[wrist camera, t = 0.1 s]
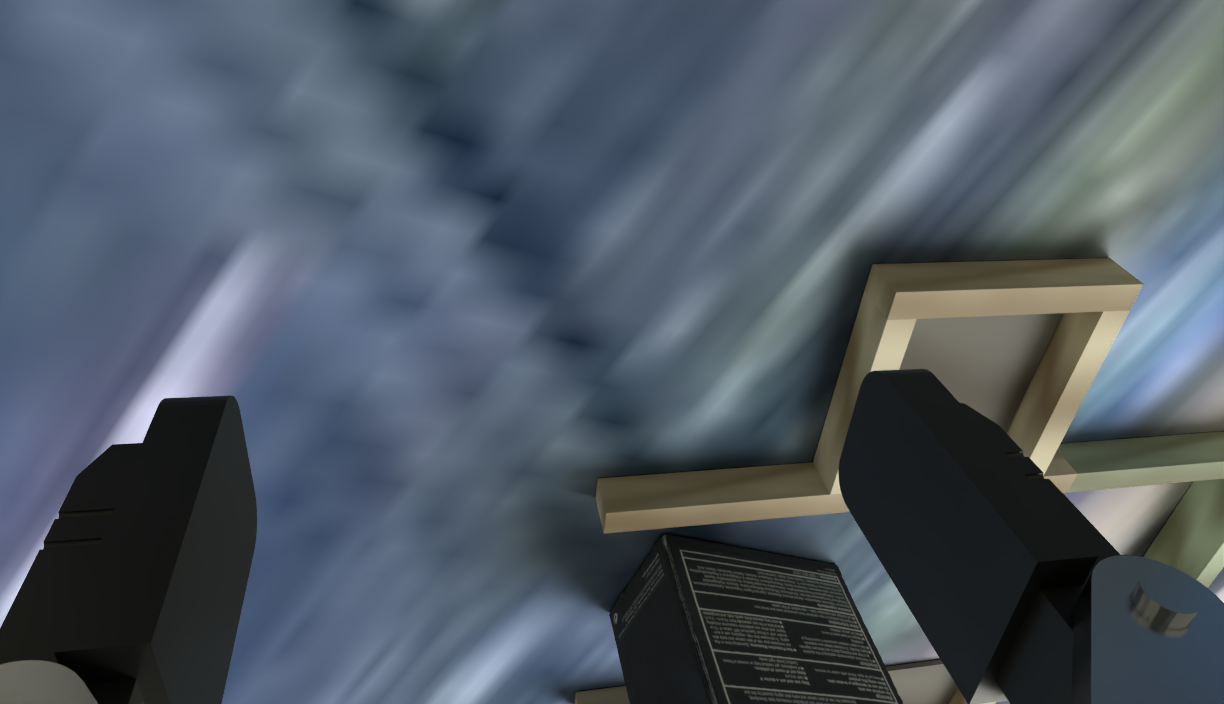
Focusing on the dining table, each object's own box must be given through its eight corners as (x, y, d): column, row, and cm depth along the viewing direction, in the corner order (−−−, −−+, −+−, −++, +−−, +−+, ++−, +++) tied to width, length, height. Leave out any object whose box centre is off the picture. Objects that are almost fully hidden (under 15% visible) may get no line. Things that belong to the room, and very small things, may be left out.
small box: (600, 617, 42) (647, 838, 34) (660, 528, 39) (727, 747, 31) (775, 640, 46) (855, 842, 38) (841, 562, 43) (944, 763, 35)
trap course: (618, 270, 30) (636, 317, 28) (1368, 251, 37) (1434, 288, 35) (564, 800, 52) (572, 851, 50) (1043, 727, 59) (1069, 770, 56)
